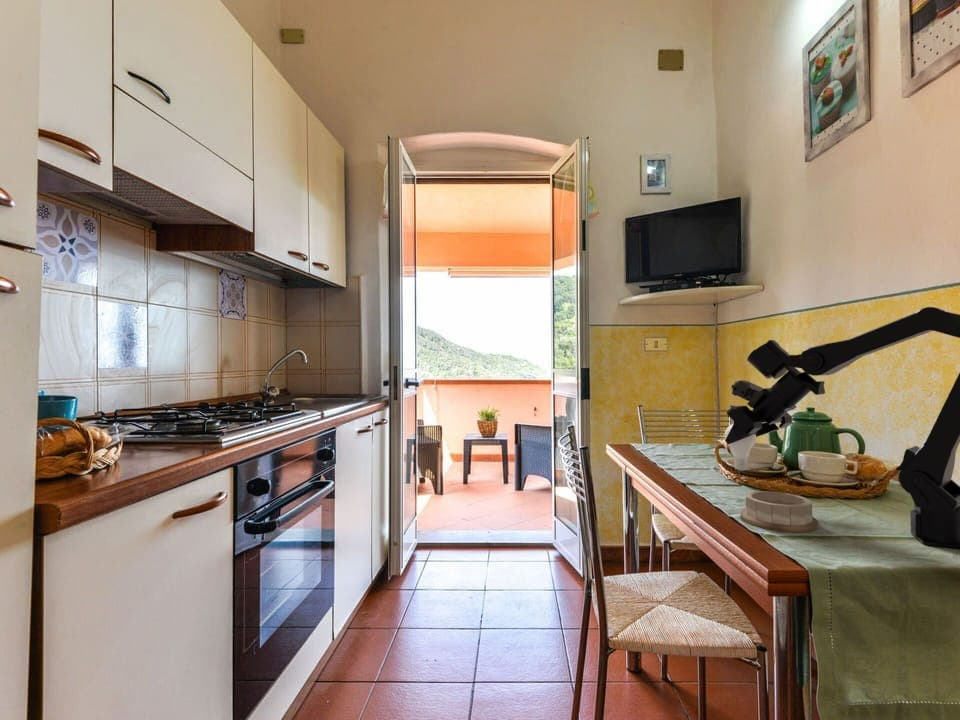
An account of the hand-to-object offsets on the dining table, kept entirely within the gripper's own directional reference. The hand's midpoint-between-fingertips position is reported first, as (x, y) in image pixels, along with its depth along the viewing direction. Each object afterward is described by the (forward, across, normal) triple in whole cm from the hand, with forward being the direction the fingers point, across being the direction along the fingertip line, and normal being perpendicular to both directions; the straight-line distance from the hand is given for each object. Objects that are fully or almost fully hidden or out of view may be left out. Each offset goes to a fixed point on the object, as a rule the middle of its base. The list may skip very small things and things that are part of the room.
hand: (734, 441), depth 114 cm
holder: (0, +10, +19) cm, 21 cm away
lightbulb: (+4, 0, +6) cm, 7 cm away
